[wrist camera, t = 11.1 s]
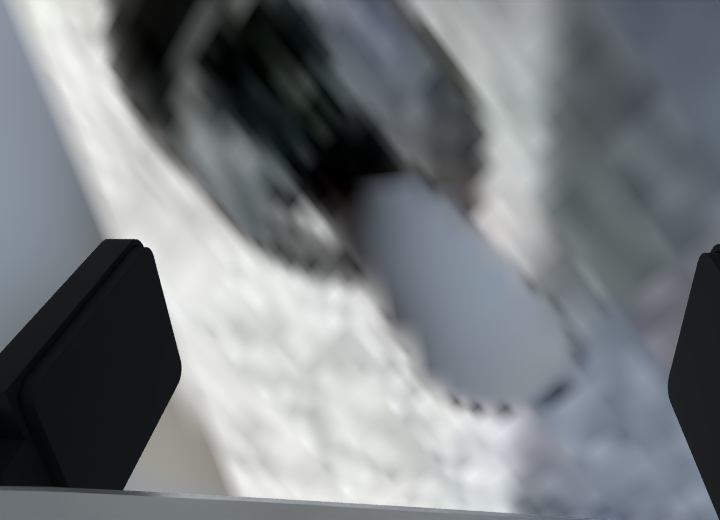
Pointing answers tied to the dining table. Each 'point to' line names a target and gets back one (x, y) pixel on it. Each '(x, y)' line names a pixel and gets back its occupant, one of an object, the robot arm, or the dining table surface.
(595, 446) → the dining table surface
